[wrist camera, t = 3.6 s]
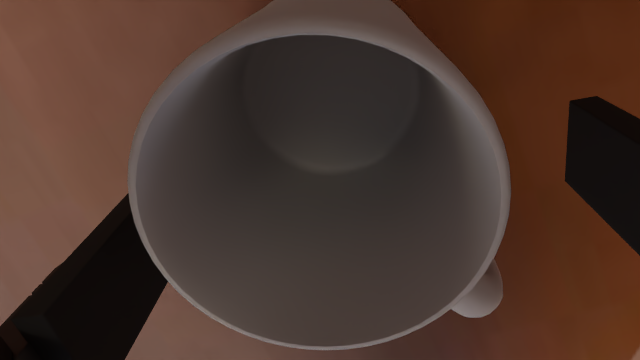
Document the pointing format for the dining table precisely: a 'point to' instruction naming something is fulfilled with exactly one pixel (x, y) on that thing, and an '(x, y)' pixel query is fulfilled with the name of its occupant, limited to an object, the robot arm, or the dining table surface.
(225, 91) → the mug
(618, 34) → the dining table surface
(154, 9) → the dining table surface
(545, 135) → the dining table surface
